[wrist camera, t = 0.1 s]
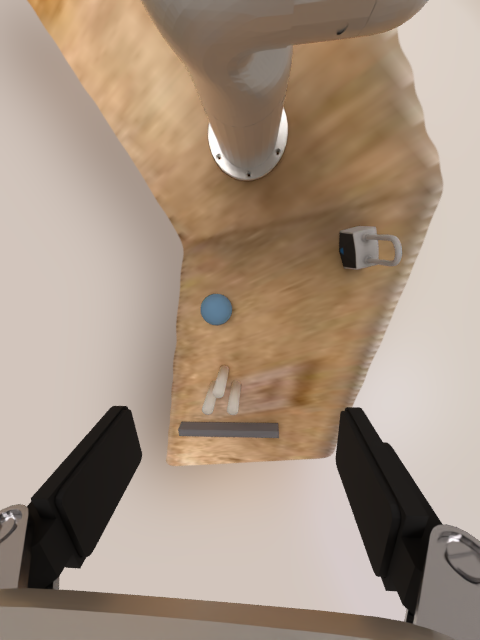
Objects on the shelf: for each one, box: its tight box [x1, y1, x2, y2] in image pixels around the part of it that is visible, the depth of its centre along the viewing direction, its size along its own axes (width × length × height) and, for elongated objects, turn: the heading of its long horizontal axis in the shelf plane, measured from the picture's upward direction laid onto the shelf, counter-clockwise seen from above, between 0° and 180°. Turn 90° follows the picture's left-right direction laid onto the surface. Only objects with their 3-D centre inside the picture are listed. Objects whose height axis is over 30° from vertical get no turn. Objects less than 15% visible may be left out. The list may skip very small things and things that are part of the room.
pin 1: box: [202, 381, 216, 415], centre depth 49 cm, size 2×2×8 cm
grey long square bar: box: [178, 422, 279, 438], centre depth 55 cm, size 2×24×2 cm, turn 93°
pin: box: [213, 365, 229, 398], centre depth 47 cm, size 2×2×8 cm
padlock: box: [339, 226, 402, 270], centre depth 34 cm, size 7×4×15 cm, turn 15°
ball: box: [201, 294, 232, 325], centre depth 44 cm, size 6×6×6 cm
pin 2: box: [227, 380, 241, 415], centre depth 48 cm, size 2×2×8 cm
